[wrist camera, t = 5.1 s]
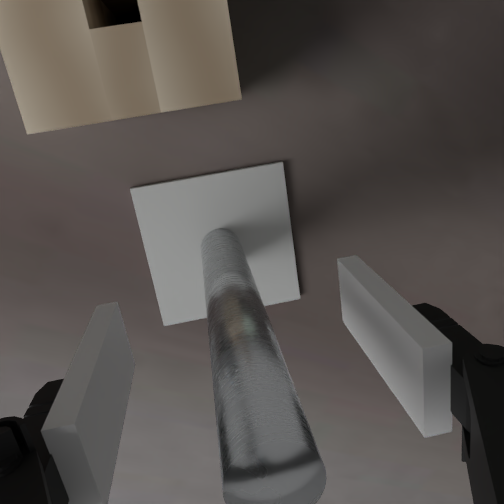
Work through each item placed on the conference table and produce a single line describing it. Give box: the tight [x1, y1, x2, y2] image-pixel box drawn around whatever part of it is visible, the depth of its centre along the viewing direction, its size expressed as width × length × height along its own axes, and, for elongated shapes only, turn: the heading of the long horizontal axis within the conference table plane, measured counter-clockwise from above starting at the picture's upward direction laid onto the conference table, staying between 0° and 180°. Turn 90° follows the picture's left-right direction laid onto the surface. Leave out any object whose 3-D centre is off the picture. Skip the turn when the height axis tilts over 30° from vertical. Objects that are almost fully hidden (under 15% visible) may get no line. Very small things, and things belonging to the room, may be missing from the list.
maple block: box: [0, 0, 242, 134], centre depth 17 cm, size 7×7×8 cm
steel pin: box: [201, 228, 326, 504], centre depth 17 cm, size 2×2×16 cm
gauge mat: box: [130, 161, 300, 326], centre depth 24 cm, size 8×8×1 cm
